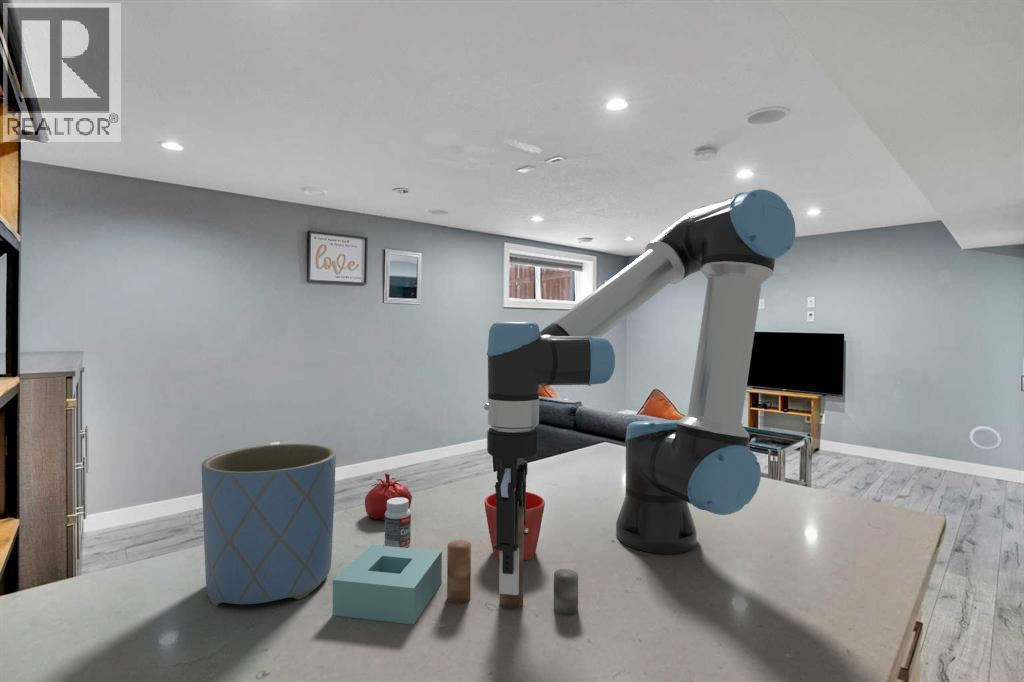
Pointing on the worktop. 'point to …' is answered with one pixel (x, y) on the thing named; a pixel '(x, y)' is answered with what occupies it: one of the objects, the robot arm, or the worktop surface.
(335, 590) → the collar
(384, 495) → the pomegranate
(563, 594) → the pin short
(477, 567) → the worktop surface
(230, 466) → the planter
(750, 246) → the robot arm
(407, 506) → the pill bottle
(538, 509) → the flower pot
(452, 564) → the pin medium
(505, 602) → the pin long
